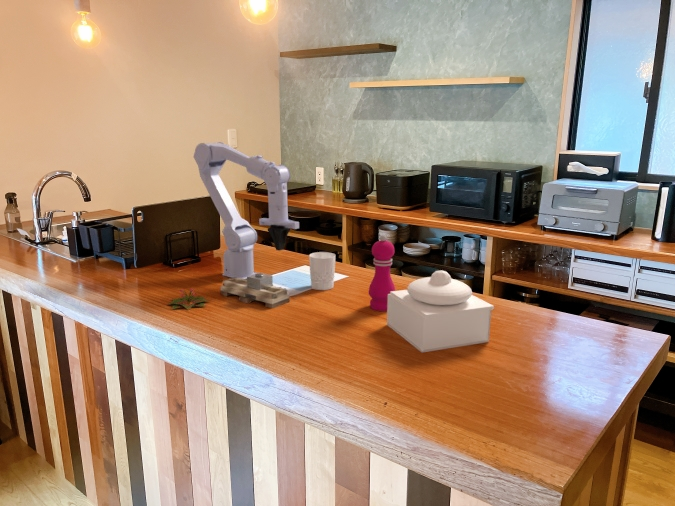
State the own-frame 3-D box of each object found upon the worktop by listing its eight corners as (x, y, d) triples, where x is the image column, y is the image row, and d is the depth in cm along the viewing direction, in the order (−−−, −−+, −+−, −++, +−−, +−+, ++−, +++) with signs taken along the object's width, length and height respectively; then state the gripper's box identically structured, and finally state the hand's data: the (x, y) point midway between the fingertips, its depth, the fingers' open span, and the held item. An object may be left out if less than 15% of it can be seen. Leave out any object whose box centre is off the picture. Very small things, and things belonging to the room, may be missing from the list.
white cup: (336, 283, 166) (336, 252, 163) (333, 291, 158) (334, 258, 156) (311, 282, 167) (311, 251, 164) (307, 290, 159) (307, 257, 157)
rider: (247, 291, 149) (246, 275, 148) (259, 287, 153) (259, 271, 152) (260, 294, 146) (259, 278, 145) (272, 290, 150) (272, 274, 149)
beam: (218, 295, 154) (217, 282, 153) (241, 287, 161) (240, 275, 160) (269, 309, 142) (269, 295, 142) (291, 300, 150) (291, 287, 149)
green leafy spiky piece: (211, 310, 143) (210, 294, 142) (164, 314, 140) (163, 297, 139) (210, 296, 154) (209, 281, 153) (166, 299, 151) (165, 284, 150)
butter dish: (386, 325, 132) (388, 263, 128) (449, 317, 138) (453, 257, 135) (421, 353, 116) (425, 283, 112) (491, 342, 122) (496, 275, 119)
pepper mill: (393, 312, 141) (396, 238, 136) (366, 310, 142) (367, 237, 137) (396, 303, 148) (398, 232, 143) (370, 302, 149) (371, 231, 144)
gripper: (251, 205, 162) (253, 249, 165) (287, 209, 154) (289, 255, 157) (267, 203, 168) (269, 245, 171) (303, 206, 160) (304, 250, 163)
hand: (279, 249), depth 164 cm, fingers closed
